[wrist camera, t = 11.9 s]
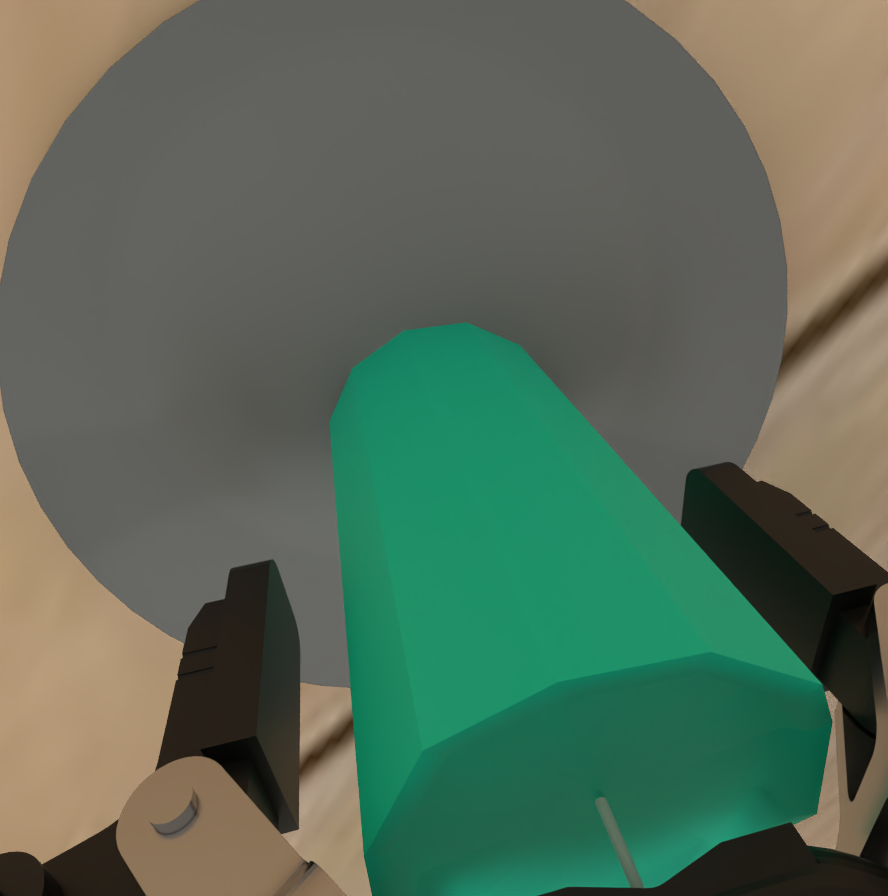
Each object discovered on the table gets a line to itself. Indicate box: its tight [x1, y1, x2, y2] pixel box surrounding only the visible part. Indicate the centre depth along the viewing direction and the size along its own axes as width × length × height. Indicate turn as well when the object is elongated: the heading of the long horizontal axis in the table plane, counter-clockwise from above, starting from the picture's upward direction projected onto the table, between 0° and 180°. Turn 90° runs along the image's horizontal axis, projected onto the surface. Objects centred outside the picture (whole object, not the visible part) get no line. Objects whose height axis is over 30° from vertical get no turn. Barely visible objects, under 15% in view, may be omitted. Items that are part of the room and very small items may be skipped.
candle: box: [329, 322, 832, 896], centre depth 11 cm, size 6×6×12 cm
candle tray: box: [0, 0, 787, 688], centre depth 17 cm, size 20×20×1 cm
